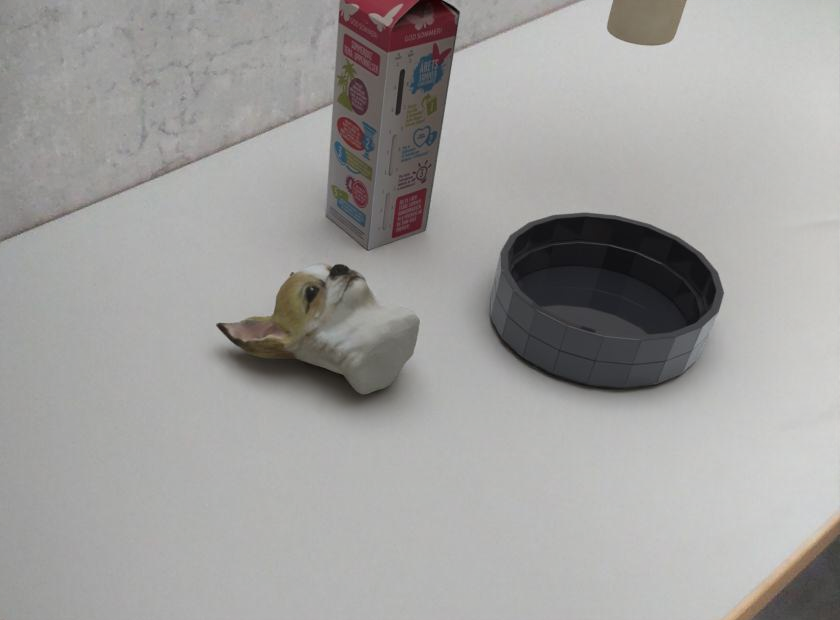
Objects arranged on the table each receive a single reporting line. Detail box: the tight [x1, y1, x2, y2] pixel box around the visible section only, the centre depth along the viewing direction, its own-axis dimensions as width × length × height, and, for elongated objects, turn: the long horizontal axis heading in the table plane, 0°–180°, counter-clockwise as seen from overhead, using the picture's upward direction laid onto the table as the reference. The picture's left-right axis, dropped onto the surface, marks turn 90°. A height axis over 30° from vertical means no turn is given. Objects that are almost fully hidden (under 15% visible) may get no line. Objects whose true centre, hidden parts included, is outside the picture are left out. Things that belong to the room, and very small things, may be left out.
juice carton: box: [325, 0, 461, 251], centre depth 79 cm, size 7×7×22 cm
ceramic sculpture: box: [215, 263, 421, 396], centre depth 71 cm, size 11×9×15 cm
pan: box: [489, 212, 725, 389], centre depth 76 cm, size 17×17×5 cm
